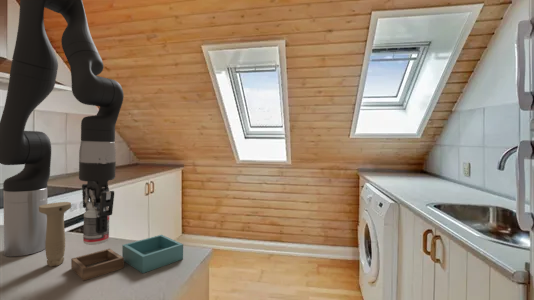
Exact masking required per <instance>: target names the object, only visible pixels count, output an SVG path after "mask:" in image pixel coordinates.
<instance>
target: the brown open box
mask: <svg viewBox="0 0 534 300" xmlns="http://www.w3.org/2000/svg"><path fill="white" fill-rule="evenodd" d="M70 259H71V260H70V262H71V263H70V264H71V270H72V271H73V272H74V273H75V274H76V276H78V277H79V278H80V279H81V280H82V281H83V282H84V281H87V280H90V279H94V278H97V277H101V276H103V275H106V274H110V273H112V272H115V271H119V270H121V269H124V266H125V261H124V258H123V257H122V255H120V254H118V253H117V252H116V251H114V250H112V249H111V248H107V249H102V250H99V251H95V252H92V253H87V254H82V255H80V256H76V257H72V258H70ZM96 263H97V264H96ZM93 264H94V265H93Z"/></svg>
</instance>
